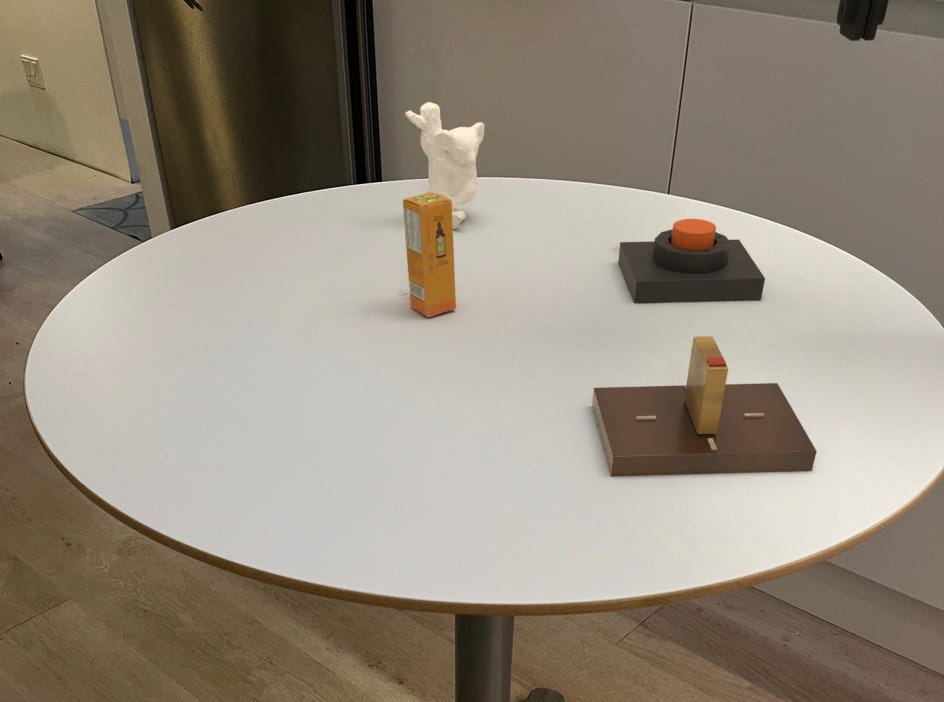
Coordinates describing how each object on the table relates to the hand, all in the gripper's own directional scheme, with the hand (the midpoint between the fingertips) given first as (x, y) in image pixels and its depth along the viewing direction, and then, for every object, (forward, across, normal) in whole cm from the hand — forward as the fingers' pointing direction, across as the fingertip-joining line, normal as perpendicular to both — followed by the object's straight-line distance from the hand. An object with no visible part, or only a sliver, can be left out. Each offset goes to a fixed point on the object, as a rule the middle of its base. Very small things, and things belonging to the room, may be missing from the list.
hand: (856, 36), depth 75 cm
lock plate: (+23, +13, +20) cm, 33 cm away
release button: (+19, +7, -12) cm, 24 cm away
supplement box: (+23, +32, -7) cm, 40 cm away
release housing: (+23, +7, -12) cm, 27 cm away
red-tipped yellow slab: (+20, +13, +20) cm, 31 cm away
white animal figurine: (+23, +30, -30) cm, 48 cm away
